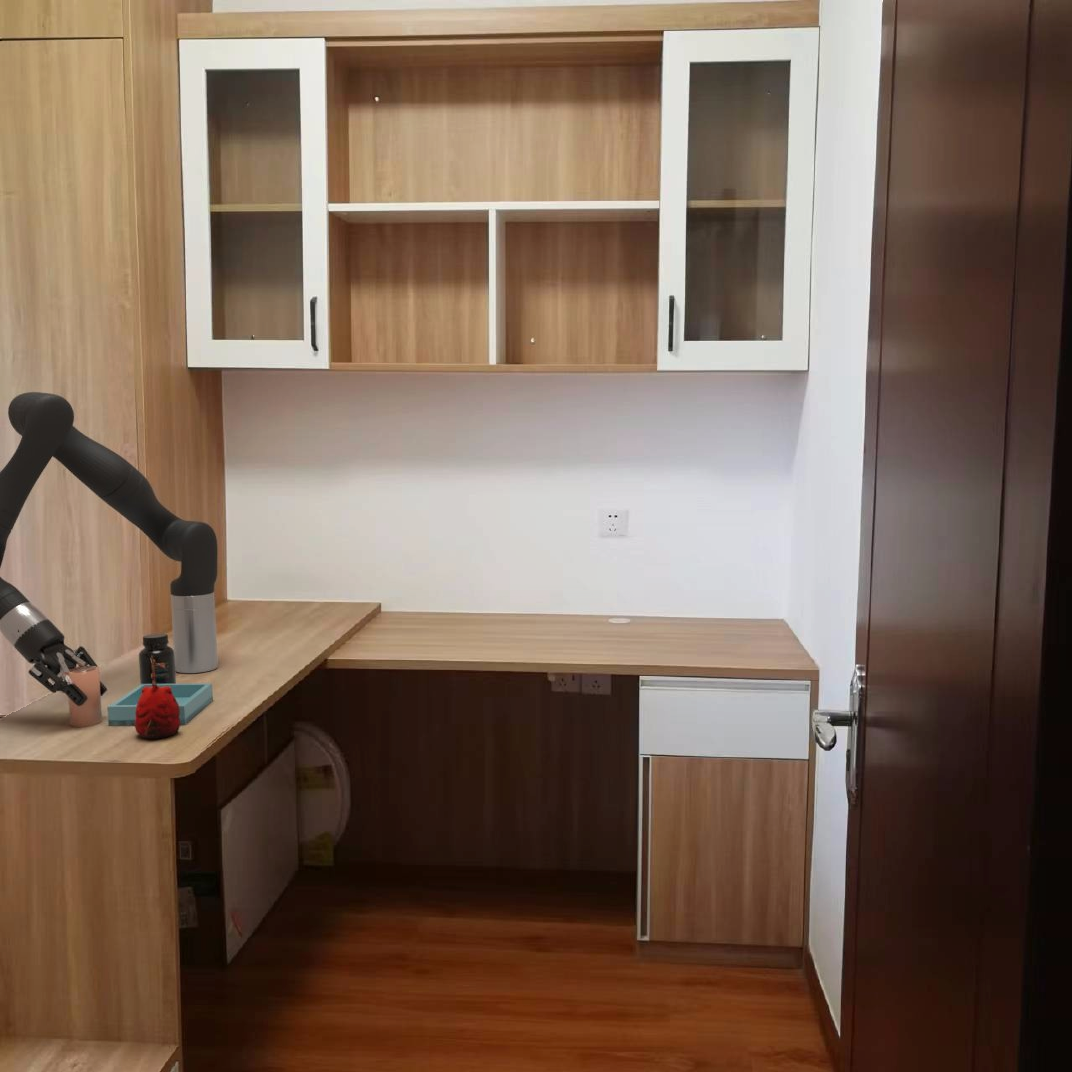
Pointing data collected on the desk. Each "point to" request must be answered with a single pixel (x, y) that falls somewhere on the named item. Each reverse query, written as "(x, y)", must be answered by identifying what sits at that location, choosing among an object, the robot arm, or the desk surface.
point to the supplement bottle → (157, 660)
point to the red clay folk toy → (157, 710)
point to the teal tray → (186, 695)
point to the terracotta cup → (90, 686)
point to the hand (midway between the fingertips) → (93, 697)
